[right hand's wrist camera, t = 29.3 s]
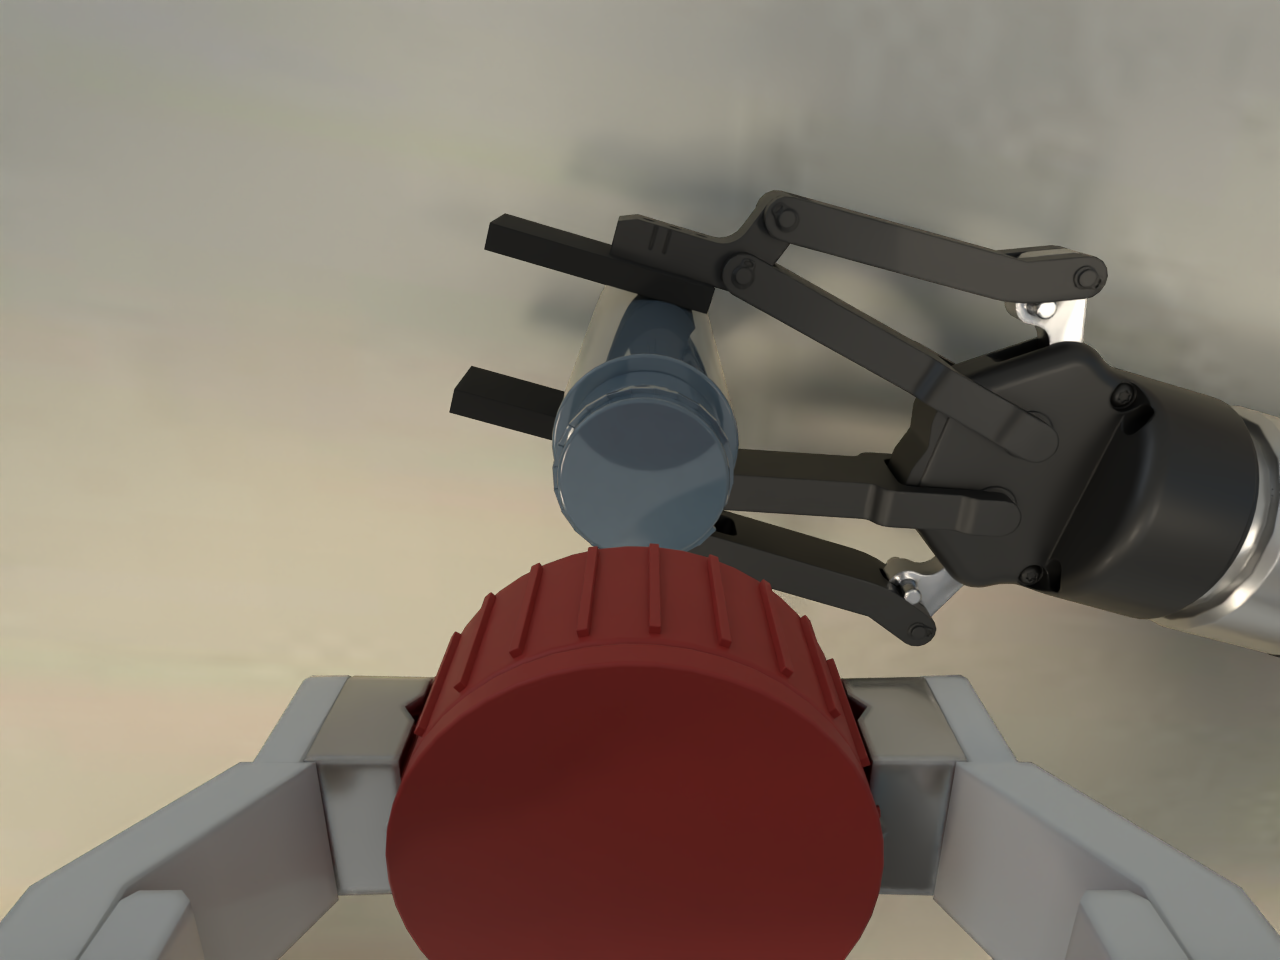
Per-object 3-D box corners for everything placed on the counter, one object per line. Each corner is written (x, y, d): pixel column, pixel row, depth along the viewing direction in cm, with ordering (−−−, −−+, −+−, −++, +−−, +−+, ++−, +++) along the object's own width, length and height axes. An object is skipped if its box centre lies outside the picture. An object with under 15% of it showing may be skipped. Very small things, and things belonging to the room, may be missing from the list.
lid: (778, 904, 12) (809, 1083, 10) (410, 841, 12) (353, 1013, 9) (896, 585, 10) (966, 714, 8) (462, 498, 10) (407, 607, 7)
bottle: (572, 320, 33) (496, 484, 18) (649, 237, 32) (640, 336, 16) (652, 395, 34) (646, 611, 19) (730, 317, 33) (791, 480, 18)
